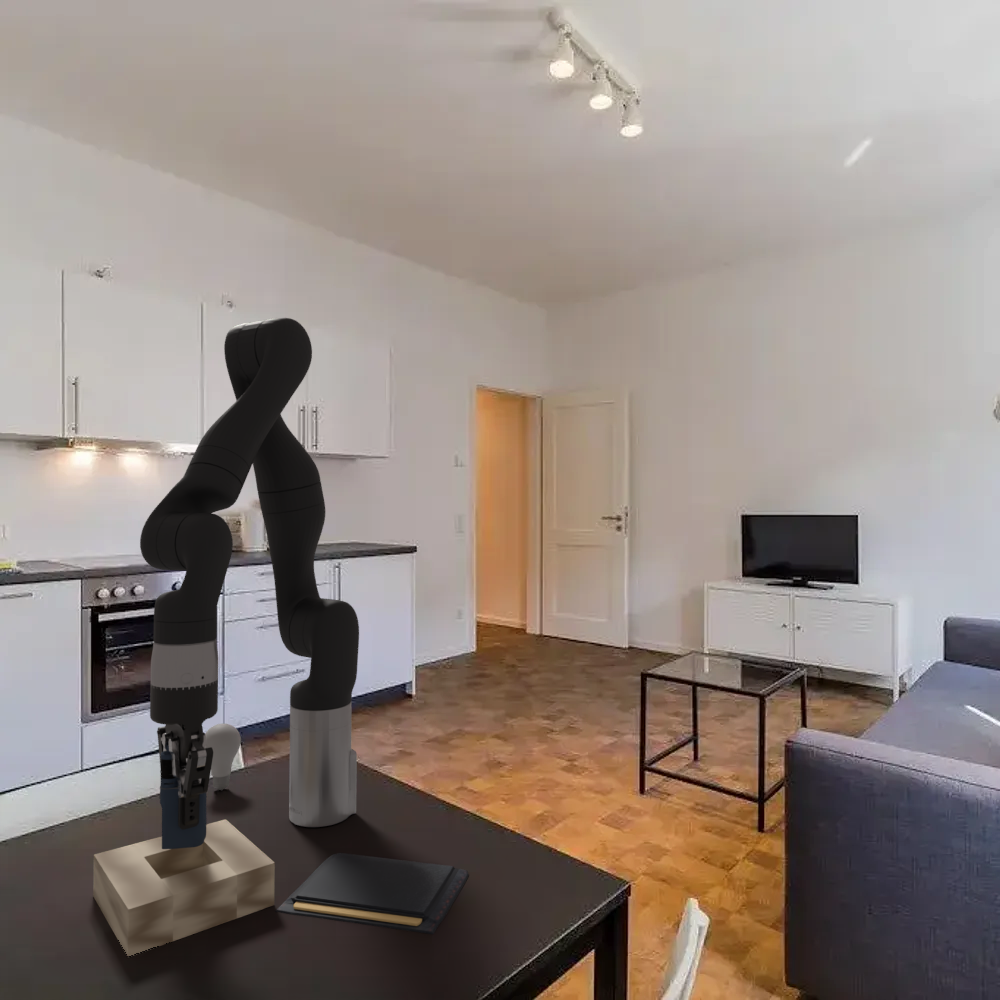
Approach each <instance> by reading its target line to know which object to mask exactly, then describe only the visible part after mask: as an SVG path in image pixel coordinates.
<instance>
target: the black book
mask: <svg viewBox="0 0 1000 1000" xmlns="http://www.w3.org/2000/svg"><path fill="white" fill-rule="evenodd" d="M468 878H469V872H468V870H466V869H463V868H462V869H461V868H455V866H452V865H446V864H438V863H428V862H419V861H412V860H411V861H410V860H406V859H405V860H404V859H402V860H401V859H395V858H389V857H388V858H387V857H379V856H369V855H363V854H362V855H361V854H353V853H343V852H337V853H334V854H332V855H330V856H328V857H327V858H326V859H325V860H323V862H322V863H321V864H319V866H317V868H316V869H315V870H314V871H313V872H312V873H311V874H310V875H309V876H308V877H307V878H306V879H305V880H304V881H303V882H302V883H301V885H299V887H297V888H296V889H295V890H294V891H293V892H292V893H291V894H290V895H289V896H288V897H287V898H286V899H285V901H283V902H282V904H281V905H279V906H278V908H277V909H276V910H275V911H274V912H276V913H281V914H286V915H294V916H299V917H300V916H301V917H310V918H318V919H322V920H323V919H325V920H329V921H330V920H331V921H337V922H344V923H345V922H346V923H353V924H359V925H365V926H374V927H380V928H388V929H395V930H402V931H407V932H408V931H409V932H414V933H415V932H416V933H421V934H422V933H423V934H428V935H434V934H435V932H436V930H437V929H438V927H439V926H440V924H441V923H442V922H443V921H444V919H445V918H446V916H447V914H448V912H449V911H450V909H451V907H452V906H453V904H454V902H455V900H456V899H457V897H458V896H459V894H460V892H461V891H462V890H463V887H464V885H465V884H466V882H467V880H468Z"/></svg>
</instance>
